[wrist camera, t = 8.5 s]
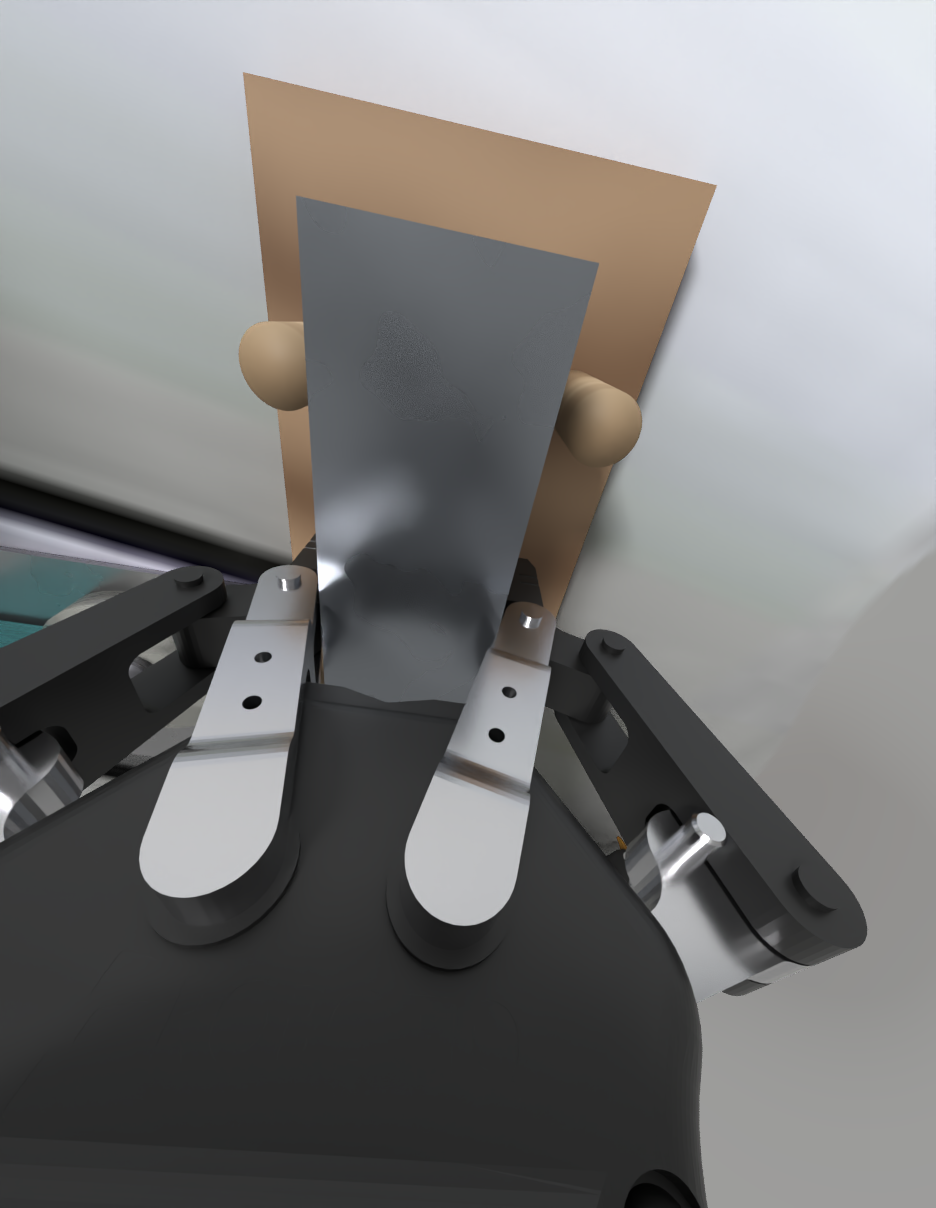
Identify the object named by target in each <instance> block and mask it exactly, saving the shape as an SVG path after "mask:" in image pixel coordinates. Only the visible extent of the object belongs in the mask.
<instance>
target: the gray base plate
mask: <svg viewBox="0 0 936 1208" xmlns="http://www.w3.org/2000/svg"><path fill="white" fill-rule="evenodd" d="M164 573H166V572H165V571H158V570H152V569H145V568H139V567H132V566H126V565H119V564H113V563H106V562H99V561H93V560H86V559H80V558H73V557H67V556H60V555H54V554H47V553H41V552H34V551H28V550H21V549H15V548H8V547H2V546H0V620H2V621H9V622H16V623H23V624H30V625H37V626H44V625H45V623H46V622H47V621H48V620H49V619H51V618H52V617H53V616H55V615H56V614H58V613H59V612H60V611H62V610H63V609H65V608H66V607H68V606H69V605H71V604H72V603H74V602H75V601H77V600H78V599H80V598H82V597H84V596H86V595H88V594H91V593H95V592H101V591H127V590H129V589H131V588H134V587H136V586H138V585H140V584H142V583H145V582H147V581H149V580H151V579H153V578H155V577H158V576H160V575H162V574H164ZM224 583H225V585H245V584H243V583H236V582H230V581H224ZM195 726H196V725H195ZM195 726H191V727H186V728H162V729H161V730H160V731H159V732H157V733H156V734H155V735H153V736H152V737H151V738H150V739H148V740H147V741H146V742H144V743H143V744H142V745H141V746H139V747H138V748H137V749H136V750H134V751H133V752H132V753H130V754H136V755H144V756H152V757H155V756H156V755H158V754H160V753H162V752H163V751H165V750H167V749H169V748H171V747H172V746H174V745H176V744H178V743H180V742H181V741H183V740H185V739H187V738H189V737H190V736H192V734H193V731H194V729H195Z"/></svg>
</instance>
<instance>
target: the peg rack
mask: <svg viewBox="0 0 936 1208" xmlns="http://www.w3.org/2000/svg"><path fill="white" fill-rule="evenodd" d="M243 76H244V86H245V96H246V106H247V116H248V125H249V135H250V145H251V155H252V165H253V174H254V184H255V194H256V204H257V214H258V223H259V233H260V243H261V253H262V263H263V273H264V282H265V292H266V302H267V312H268V322H260V323H257V324H255V325H253V326H251V327H250V328H249V329H248V330H247V331H246V332H245V334H244V335H243V337H242V339H241V343H240V347H239V362H240V367H241V370H242V373H243V376H244V378H245V380H246V382H247V384H248V385H249V387H250V388H251V390H252V391H253V392H254V393H255V394H256V395H257V396H258V397H259V398H260V399H261V400H262V401H263V402H265V403H266V404H268V405H269V406H271V407H273V408H276V409H277V410H278V420H279V429H280V439H281V449H282V459H283V469H284V478H285V488H286V498H287V508H288V518H289V527H290V537H291V547H292V557H293V561H294V559H295V558H296V557H297V556H298V554H299V553H300V552H301V551H302V549H303V548H305V546H306V544H307V543H308V542H309V541H310V539H311V538H312V537H313V536H314V534H315V533H316V531H315V514H314V497H313V480H312V463H311V446H310V429H309V412H308V395H307V378H306V361H305V344H304V327H303V310H302V293H301V276H300V259H299V242H298V225H297V208H296V196H301V197H305V198H310V199H314V200H319V201H323V202H328V203H332V204H337V205H341V206H345V207H350V208H354V209H359V210H363V211H368V212H372V213H377V214H381V215H386V216H390V217H395V218H399V219H404V220H408V221H413V222H417V223H422V224H426V225H431V226H435V227H440V228H444V229H449V230H453V231H458V232H462V233H467V234H471V235H476V236H480V237H485V238H489V239H494V240H498V241H503V242H507V243H511V244H516V245H520V246H525V247H529V248H534V249H538V250H543V251H547V252H552V253H556V254H561V255H565V256H570V257H574V258H579V259H583V260H588V261H592V262H597V263H599V267H598V270H597V274H596V277H595V281H594V285H593V288H592V292H591V296H590V299H589V303H588V307H587V310H586V314H585V317H584V321H583V325H582V328H581V332H580V336H579V339H578V343H577V346H576V350H575V354H574V357H573V361H572V365H571V368H570V372H569V376H568V379H567V383H566V386H565V390H564V394H563V397H562V401H561V405H560V408H559V412H558V416H557V419H556V423H555V426H554V430H553V434H552V437H551V441H550V445H549V448H548V452H547V456H546V459H545V463H544V466H543V470H542V474H541V477H540V481H539V485H538V488H537V492H536V496H535V499H534V503H533V506H532V510H531V514H530V517H529V521H528V525H527V528H526V532H525V536H524V539H523V543H522V546H521V550H520V554H519V557H518V558H524V559H528V560H529V561H530V562H531V564H532V565H533V566H534V567H535V568H536V573H537V579H538V583H539V587H540V592H541V597H542V602H543V607H544V608H545V609H547V610H548V611H550V612H551V613H552V615H553V616H554V617H555V619H556V616H557V613H558V611H559V608H560V605H561V603H562V600H563V597H564V595H565V592H566V589H567V586H568V584H569V581H570V578H571V576H572V573H573V570H574V568H575V565H576V562H577V560H578V557H579V554H580V552H581V549H582V546H583V543H584V541H585V538H586V535H587V533H588V530H589V527H590V525H591V522H592V519H593V517H594V514H595V511H596V509H597V506H598V503H599V500H600V498H601V495H602V492H603V490H604V487H605V484H606V482H607V479H608V476H609V474H610V471H611V468H612V466H613V464H615V463H617V462H618V461H620V460H621V459H623V458H624V457H625V456H626V455H627V454H628V453H629V452H630V451H631V450H632V449H633V447H634V446H635V444H636V442H637V440H638V438H639V435H640V432H641V428H642V416H641V411H640V408H639V406H638V404H637V402H636V401H637V398H638V396H639V393H640V390H641V388H642V385H643V382H644V380H645V377H646V374H647V372H648V369H649V366H650V364H651V361H652V358H653V355H654V353H655V350H656V347H657V345H658V342H659V339H660V337H661V334H662V331H663V329H664V326H665V323H666V321H667V318H668V315H669V312H670V310H671V307H672V304H673V302H674V299H675V296H676V294H677V291H678V288H679V286H680V283H681V280H682V278H683V275H684V272H685V269H686V267H687V264H688V261H689V259H690V256H691V253H692V251H693V248H694V245H695V243H696V240H697V237H698V235H699V232H700V229H701V227H702V224H703V221H704V218H705V216H706V213H707V210H708V208H709V205H710V202H711V200H712V197H713V194H714V192H715V189H716V186H717V185H713V184H709V183H705V182H701V181H696V180H692V179H688V178H684V177H680V176H676V175H671V174H667V173H663V172H659V171H655V170H650V169H646V168H642V167H638V166H634V165H629V164H625V163H621V162H617V161H613V160H609V159H604V158H600V157H596V156H592V155H588V154H583V153H579V152H575V151H571V150H567V149H562V148H558V147H554V146H550V145H546V144H541V143H537V142H533V141H529V140H525V139H521V138H516V137H512V136H508V135H504V134H500V133H495V132H491V131H487V130H483V129H479V128H474V127H470V126H466V125H462V124H458V123H454V122H449V121H445V120H441V119H437V118H433V117H428V116H424V115H420V114H416V113H412V112H407V111H403V110H399V109H395V108H391V107H387V106H382V105H378V104H374V103H370V102H366V101H361V100H357V99H353V98H349V97H345V96H340V95H336V94H332V93H328V92H324V91H320V90H315V89H311V88H307V87H303V86H299V85H294V84H290V83H286V82H282V81H278V80H273V79H269V78H265V77H261V76H257V75H253V74H248V73H244V72H243ZM320 684H324V667H323V650H322V669H321V681H320Z"/></svg>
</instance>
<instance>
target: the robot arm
mask: <svg viewBox="0 0 936 1208" xmlns="http://www.w3.org/2000/svg"><path fill="white" fill-rule="evenodd" d="M170 636H172V637H173V640H174V643H175V646H176V649H177V650H175V651H174V652H172V653H170V654H169V655H167V656H166V657H164V658H163V659H161V660H159V661H158V662H156V663H155V664H153V665H152V666H150V667H148V668H147V669H145V670H144V671H142V672H140V673H139V674H137V675H136V676H134V677H133V678H131V679H130V677H129V668H130V665H131V664H132V662H133V661H134V659H135V658H136V657H137V656H139V655H140V654H141V653H143V652H145V651H146V650H148V649H150V648H151V647H153V646H155V645H156V644H158V643H160V642H161V641H163V640H165V639H167V638H168V637H170ZM321 669H322V633H321V616H320V599H319V582H318V565H317V548H316V533H315V534H314V536H313V537H312V538H311V539H310V541H309V542H308V543H307V544H306V546H305V548H303V549H302V551H301V552H300V553H299V554H298V556H297V557H296V558H295V559H294V561H293V562H292V563H291V564H290V565H284V566H278V567H275V568H272V569H269V570H267V571H266V572H264V573H263V574H262V575H261V576H260V578H259V581H258V584H245V585H225V583H224V578H223V575H222V574H221V572H219V571H218V570H216V569H213V568H210V567H204V566H189V567H182V568H178V569H174V570H171V571H169V572H166V573H164V574H162V575H160V576H158V577H155V578H153V579H151V580H149V581H147V582H145V583H142V584H140V585H138V586H136V587H134V588H131V589H129V590H127V591H125V592H123V593H120V594H118V595H116V596H114V597H112V598H109V599H107V600H105V601H103V602H101V603H99V604H96V605H94V606H92V607H90V608H88V609H85V610H83V611H81V612H79V613H77V614H74V615H72V616H70V617H68V618H66V619H64V620H61V621H59V622H57V623H55V624H53V625H50V626H48V627H46V628H44V629H42V630H39V631H37V632H35V633H33V634H31V635H28V636H26V637H24V638H22V639H20V640H18V641H15V642H13V643H11V644H9V645H7V646H4V647H2V648H0V1208H708V1207H707V1201H706V1193H705V1185H704V1177H703V1169H702V1161H701V1146H700V1131H699V1095H700V1082H701V1068H702V1038H701V1025H700V1020H699V1014H698V1008H697V1003H698V1002H700V1001H702V1000H705V999H706V998H709V997H711V996H713V995H715V994H717V993H719V992H721V991H722V992H724V993H726V994H729V995H733V996H741V995H745V994H747V993H750V992H752V991H755V990H757V989H759V988H762V987H764V986H767V985H769V984H771V983H773V982H776V981H778V980H781V979H783V978H785V977H788V976H790V975H793V974H795V973H797V972H800V971H802V970H805V969H807V968H809V967H812V966H814V965H816V964H819V963H821V962H823V961H826V960H828V959H831V958H833V957H835V956H838V955H840V954H842V953H845V952H847V951H849V950H852V949H854V948H857V947H858V946H860V945H862V944H863V942H864V941H865V939H866V936H867V925H866V920H865V917H864V913H863V911H862V909H861V907H860V904H859V903H858V901H857V899H856V898H855V896H854V894H853V893H852V891H851V890H850V889H849V887H848V886H847V885H846V884H845V882H844V881H843V880H842V879H841V877H840V876H839V875H838V874H837V873H836V872H835V871H834V870H833V868H832V867H831V866H830V865H829V864H828V863H827V862H826V861H825V859H824V858H823V857H822V856H821V855H820V854H819V853H818V852H817V850H816V849H815V848H814V847H813V846H812V845H811V844H810V843H809V841H808V840H807V839H806V838H805V837H804V836H803V835H802V833H801V832H800V831H799V830H798V829H797V828H796V827H795V826H794V825H793V823H792V822H791V821H790V820H789V819H788V818H787V817H786V816H785V815H784V813H783V812H782V811H781V810H780V809H779V808H778V806H777V805H776V804H775V803H774V802H773V801H772V800H771V799H770V798H769V796H768V795H767V794H766V793H765V792H764V791H763V790H762V788H761V787H760V786H759V785H758V784H757V783H756V782H755V781H754V779H753V778H752V777H751V776H750V775H749V774H748V773H747V772H746V770H745V769H744V768H743V767H742V766H741V765H740V764H739V763H738V761H737V760H736V759H735V758H734V757H733V756H732V755H731V754H730V752H729V751H728V750H727V749H726V748H725V747H724V746H723V745H722V743H721V742H720V741H719V740H718V739H717V738H716V737H715V736H714V734H713V733H712V732H711V731H710V730H709V729H708V728H707V727H706V725H705V724H704V723H703V722H702V721H701V720H700V719H699V718H698V716H697V715H696V714H695V713H694V712H693V711H692V710H691V709H690V707H689V706H688V705H687V704H686V703H685V702H684V701H683V700H682V698H681V697H680V696H679V695H678V694H677V693H676V692H675V691H674V689H673V688H672V687H671V686H670V685H669V684H668V683H667V682H666V680H665V679H664V678H663V677H662V676H661V675H660V674H659V673H658V671H657V670H656V669H655V668H654V667H653V666H652V665H651V664H650V662H649V661H648V660H647V659H646V658H645V657H644V656H643V655H642V653H641V652H640V651H639V650H638V649H637V648H636V647H635V645H634V644H633V643H632V642H630V641H629V640H628V639H627V638H625V637H623V636H622V635H620V634H617V633H615V632H612V631H608V630H593V631H591V632H589V633H588V634H587V636H586V638H585V640H584V639H581V638H578V637H575V636H573V635H570V634H568V633H565V632H563V631H561V630H560V629H558V628H556V619H555V617H554V616H553V615H552V613H551V612H550V611H548V610H547V609H545V608H544V607H543V602H542V597H541V592H540V587H539V583H538V579H537V573H536V568H535V567H534V566H533V565H532V564H531V562H530V561H529V560H528V559H524V558H518V561H517V565H516V568H515V572H514V576H513V579H512V583H511V586H510V590H509V594H508V597H507V601H506V605H505V608H504V612H503V616H502V619H501V623H500V626H499V628H498V631H497V633H496V636H495V638H494V641H493V643H492V646H491V647H490V646H489V647H488V649H487V652H486V654H485V657H484V659H483V662H482V664H481V666H480V669H479V671H478V674H477V676H476V679H475V681H474V684H473V686H472V688H471V691H470V693H469V696H468V698H467V701H466V703H465V704H463V703H456V702H449V701H442V700H434V699H433V700H419V701H404V702H384V701H381V700H378V699H376V698H373V697H370V696H368V695H365V694H362V693H359V692H357V691H354V690H351V689H348V688H346V687H341V686H334V685H326V684H320V681H321ZM206 694H207V696H206V698H205V701H204V704H203V707H202V709H201V712H200V715H199V718H198V720H197V723H196V726H195V729H194V731H193V734H192V736H190V737H189V738H187V739H185V740H183V741H181V742H180V743H178V744H176V745H174V746H172V747H171V748H169V749H167V750H165V751H163V752H162V753H160V754H158V755H156V756H155V757H153V758H151V759H149V760H147V761H146V762H144V763H142V764H140V765H138V766H137V767H135V768H133V769H131V770H129V771H128V772H126V773H124V774H122V775H120V776H119V777H117V778H115V779H113V780H111V781H110V782H108V783H106V784H104V785H102V786H101V787H99V788H97V789H95V790H93V791H92V792H90V793H88V794H86V795H84V796H83V797H81V798H79V797H80V795H81V793H82V791H83V790H84V789H85V788H87V787H88V786H89V785H91V784H92V783H93V782H94V781H96V780H97V779H98V778H100V777H101V776H102V775H103V774H105V773H106V772H107V771H109V770H110V769H111V768H112V767H114V766H115V765H116V764H118V763H119V762H120V761H121V760H123V759H124V758H125V757H127V756H128V755H129V754H130V753H132V752H133V751H134V750H136V749H137V748H138V747H139V746H141V745H142V744H143V743H144V742H146V741H147V740H148V739H150V738H151V737H152V736H153V735H155V734H156V733H157V732H159V731H160V730H161V729H162V728H164V727H165V726H166V725H168V724H169V723H170V722H171V721H173V720H174V719H175V718H177V717H178V716H179V715H180V714H182V713H183V712H184V711H186V710H187V709H188V708H189V707H191V706H192V705H193V704H195V703H196V702H197V701H198V700H200V699H201V698H202V697H204V696H205V695H206ZM544 706H546V707H549V708H551V709H553V710H554V713H555V716H556V718H557V720H558V722H559V724H560V726H561V728H562V729H563V731H564V733H565V735H566V737H567V738H568V740H569V742H570V744H571V746H572V747H573V749H574V751H575V753H576V755H577V756H578V758H579V760H580V762H581V764H582V765H583V767H584V769H585V771H586V773H587V774H588V776H589V778H590V780H591V782H592V783H593V785H594V787H595V789H596V791H597V792H598V794H599V796H600V798H601V800H602V801H603V803H604V805H605V807H606V809H607V810H608V812H609V814H610V816H611V818H612V819H613V821H614V823H615V825H616V827H617V828H618V830H619V832H620V834H621V836H622V837H623V839H624V841H625V843H626V845H627V849H626V852H625V866H626V870H627V874H628V877H629V879H630V880H629V884H628V883H627V882H626V880H625V879H624V878H623V877H622V875H621V874H620V873H619V872H618V870H617V869H616V868H615V867H614V865H613V864H612V863H611V862H610V861H609V859H608V858H607V857H606V856H605V854H604V853H603V852H602V851H601V849H600V848H599V847H598V846H597V844H596V843H595V842H594V841H593V839H592V838H591V837H590V836H589V834H588V833H587V832H586V831H585V829H584V828H583V827H582V826H581V825H580V823H579V822H578V821H577V820H576V818H575V817H574V816H573V815H572V813H571V812H570V811H569V810H568V808H567V807H566V806H565V805H564V803H563V802H562V801H561V800H560V798H559V797H558V796H557V795H556V793H555V792H554V791H553V790H552V788H551V787H550V786H549V785H548V784H547V782H546V781H545V780H544V779H543V777H542V776H541V775H540V774H539V772H538V771H537V770H536V769H535V767H534V761H535V755H536V750H537V744H538V739H539V734H540V728H541V723H542V717H543V712H544ZM612 706H613V708H614V709H615V710H616V712H617V713H618V715H619V716H620V718H621V719H622V720H623V722H624V723H625V725H626V727H627V730H628V737H629V739H628V737H627V736H626V734H625V733H624V731H623V730H622V729H621V727H620V726H619V724H618V723H617V721H616V720H615V718H614V717H613V716H612V714H611V713H610V710H611V708H612Z"/></svg>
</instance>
